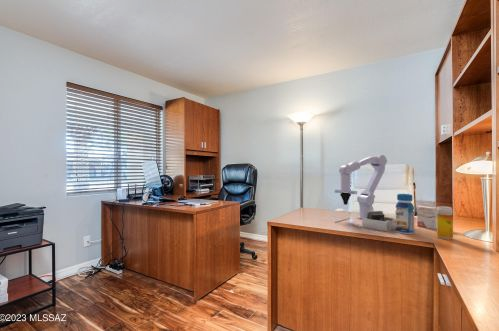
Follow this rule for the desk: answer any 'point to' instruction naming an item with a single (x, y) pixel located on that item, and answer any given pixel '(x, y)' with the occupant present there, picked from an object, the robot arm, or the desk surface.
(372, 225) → the bracket
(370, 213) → the electrical switch
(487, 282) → the desk surface
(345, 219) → the long thin gray rod
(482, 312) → the desk surface
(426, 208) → the ink cartridge box
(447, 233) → the white lidded yellow container
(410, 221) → the blue pill bottle
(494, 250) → the desk surface
